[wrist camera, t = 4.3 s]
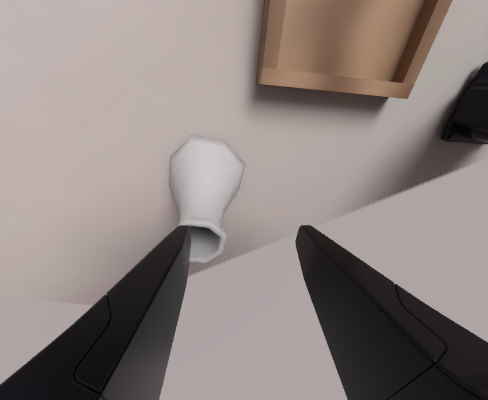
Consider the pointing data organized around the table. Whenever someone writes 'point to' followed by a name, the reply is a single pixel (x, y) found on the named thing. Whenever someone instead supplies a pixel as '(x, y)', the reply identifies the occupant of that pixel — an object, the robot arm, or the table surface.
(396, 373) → the robot arm
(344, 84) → the tray
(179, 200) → the flask
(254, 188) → the table surface
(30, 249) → the table surface
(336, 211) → the table surface
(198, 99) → the table surface
